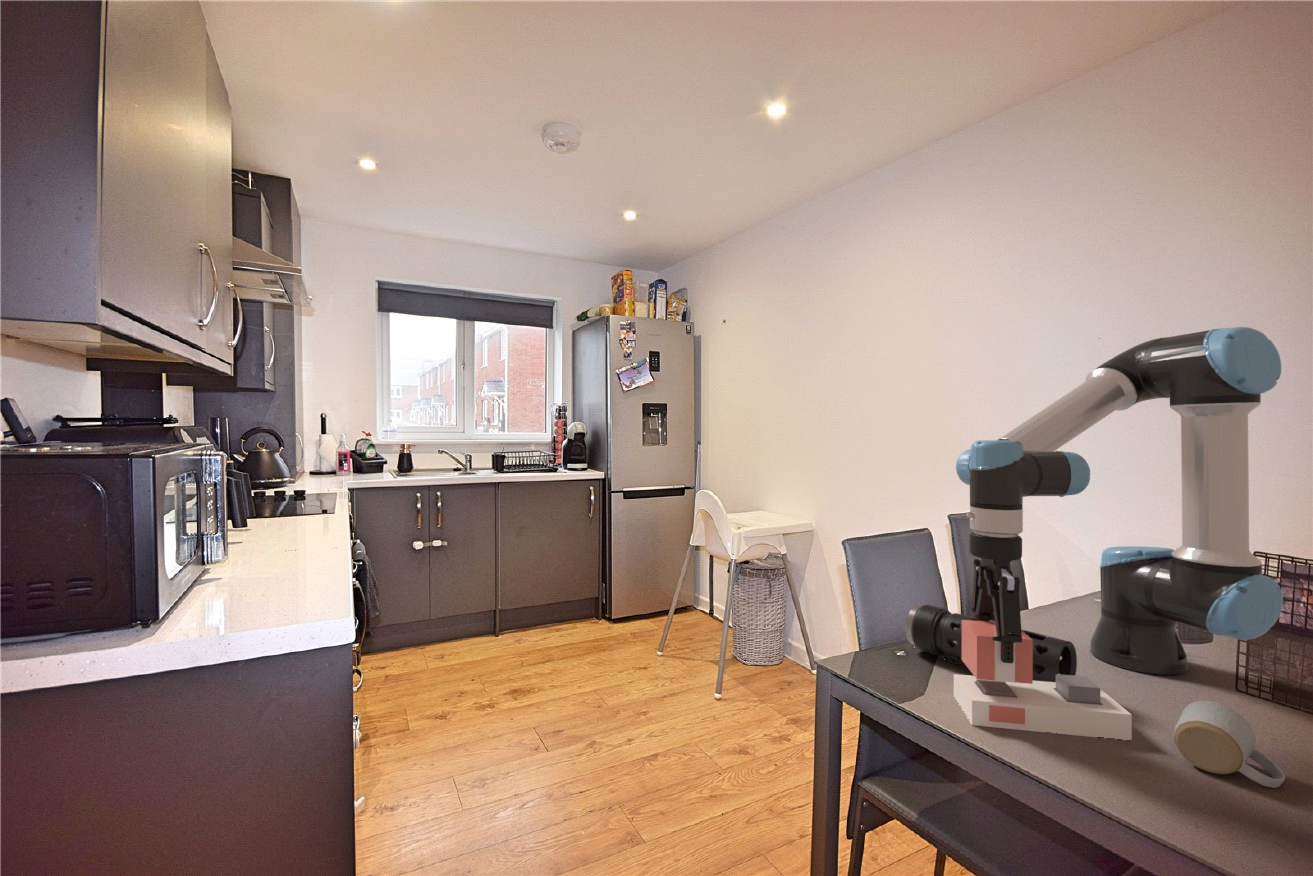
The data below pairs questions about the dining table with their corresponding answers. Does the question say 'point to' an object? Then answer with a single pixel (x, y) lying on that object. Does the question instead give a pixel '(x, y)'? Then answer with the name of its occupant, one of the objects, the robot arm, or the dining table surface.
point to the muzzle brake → (944, 629)
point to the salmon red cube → (982, 651)
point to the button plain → (1077, 689)
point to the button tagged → (995, 688)
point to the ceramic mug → (1222, 742)
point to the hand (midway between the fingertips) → (994, 669)
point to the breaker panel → (1042, 710)
